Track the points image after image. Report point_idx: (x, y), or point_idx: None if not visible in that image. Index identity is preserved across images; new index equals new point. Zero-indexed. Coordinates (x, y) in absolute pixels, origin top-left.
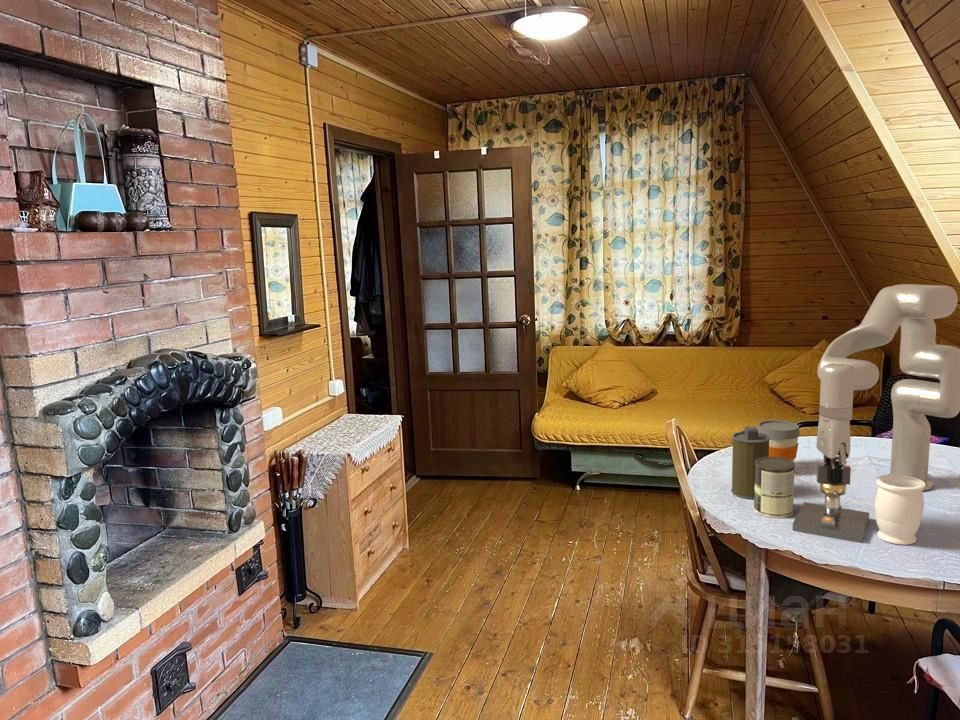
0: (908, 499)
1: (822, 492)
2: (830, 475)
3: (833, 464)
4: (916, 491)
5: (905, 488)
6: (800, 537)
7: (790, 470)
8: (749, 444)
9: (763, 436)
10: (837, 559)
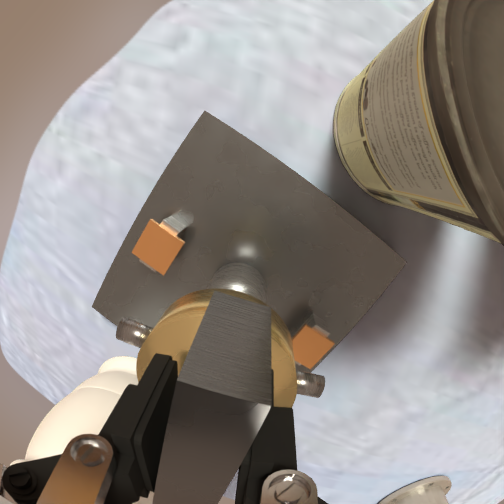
0: None
1: (205, 289)
2: (134, 394)
3: (57, 472)
4: None
5: None
6: (151, 122)
7: (451, 157)
8: None
9: None
10: (24, 179)
